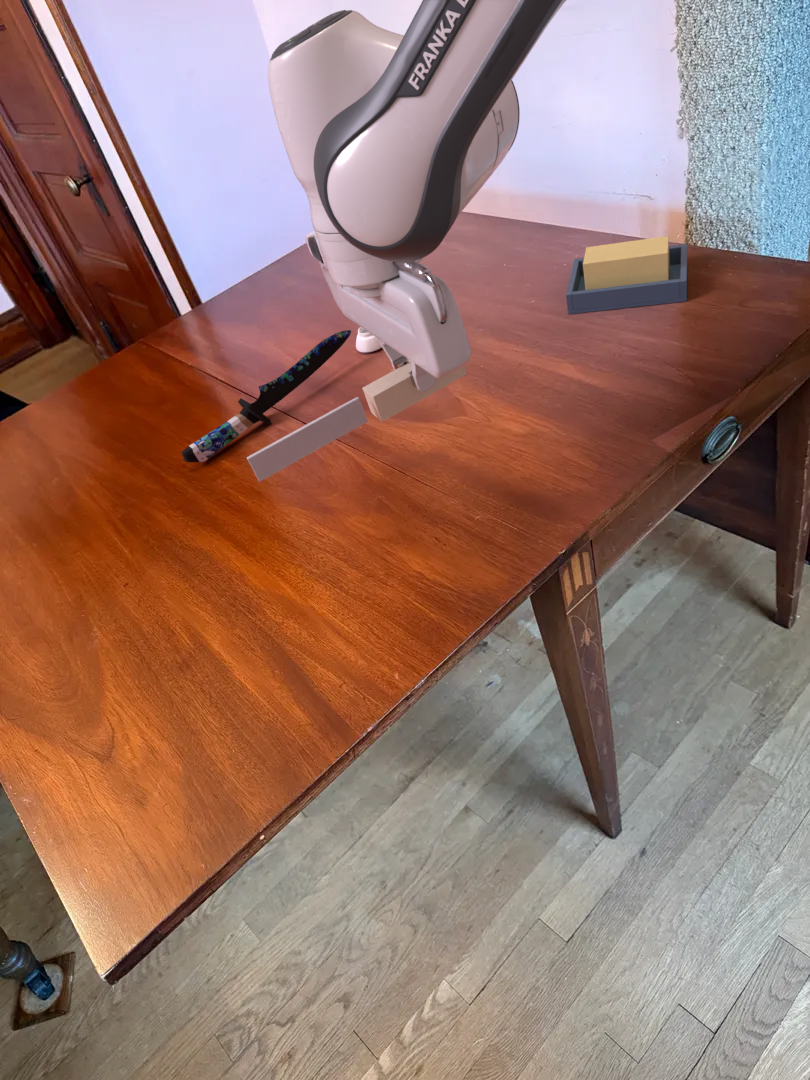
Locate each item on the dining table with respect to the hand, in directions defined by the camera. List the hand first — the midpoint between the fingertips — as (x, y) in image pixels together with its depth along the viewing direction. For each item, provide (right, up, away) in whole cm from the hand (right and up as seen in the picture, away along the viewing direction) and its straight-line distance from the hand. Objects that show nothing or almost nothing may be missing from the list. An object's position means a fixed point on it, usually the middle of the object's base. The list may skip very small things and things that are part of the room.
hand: (415, 379), depth 73 cm
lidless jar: (-6, +14, +41) cm, 44 cm away
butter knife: (-5, -4, 0) cm, 6 cm away
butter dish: (+31, +20, +33) cm, 49 cm away
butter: (+30, +21, +32) cm, 48 cm away
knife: (-19, +3, +34) cm, 39 cm away
